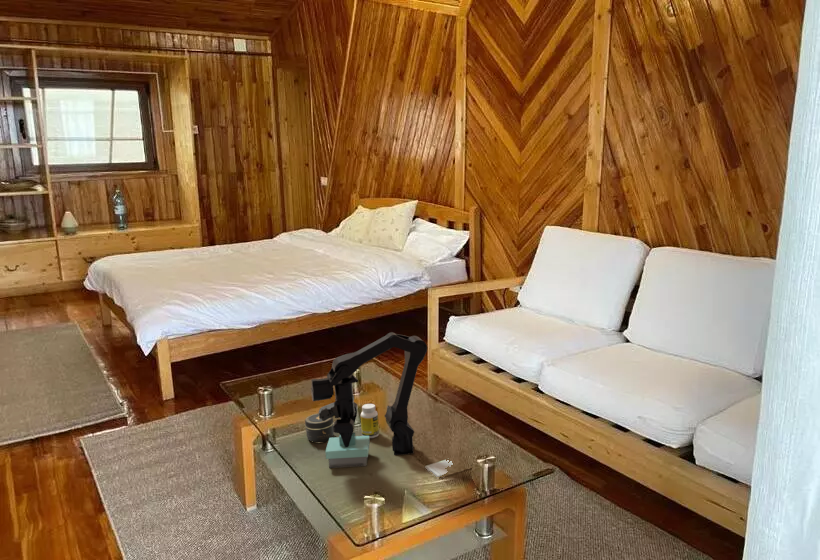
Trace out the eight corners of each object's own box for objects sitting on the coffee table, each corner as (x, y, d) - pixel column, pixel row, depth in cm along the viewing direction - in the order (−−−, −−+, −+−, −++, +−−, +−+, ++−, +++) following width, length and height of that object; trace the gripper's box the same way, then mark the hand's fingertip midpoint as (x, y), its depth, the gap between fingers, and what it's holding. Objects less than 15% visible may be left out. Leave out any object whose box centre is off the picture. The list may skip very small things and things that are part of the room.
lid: (369, 442, 206) (368, 427, 205) (367, 456, 196) (366, 440, 195) (329, 444, 206) (328, 429, 205) (326, 458, 196) (324, 442, 195)
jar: (312, 446, 213) (310, 425, 212) (302, 436, 222) (300, 416, 221) (338, 439, 218) (337, 418, 217) (328, 429, 227) (326, 410, 225)
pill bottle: (376, 439, 216) (374, 409, 215) (359, 438, 218) (357, 409, 216) (381, 431, 222) (379, 403, 220) (364, 431, 224) (362, 402, 222)
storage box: (368, 453, 206) (367, 439, 205) (366, 465, 197) (365, 451, 196) (332, 455, 206) (331, 441, 205) (329, 467, 197) (328, 453, 196)
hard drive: (457, 455, 199) (424, 465, 193) (472, 464, 192) (438, 475, 186) (458, 459, 199) (424, 470, 193) (472, 469, 192) (438, 480, 186)
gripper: (323, 387, 207) (326, 431, 209) (315, 408, 188) (319, 455, 191) (356, 385, 207) (359, 429, 209) (351, 406, 188) (354, 454, 191)
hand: (347, 441), depth 200 cm, fingers open, 8 cm apart
